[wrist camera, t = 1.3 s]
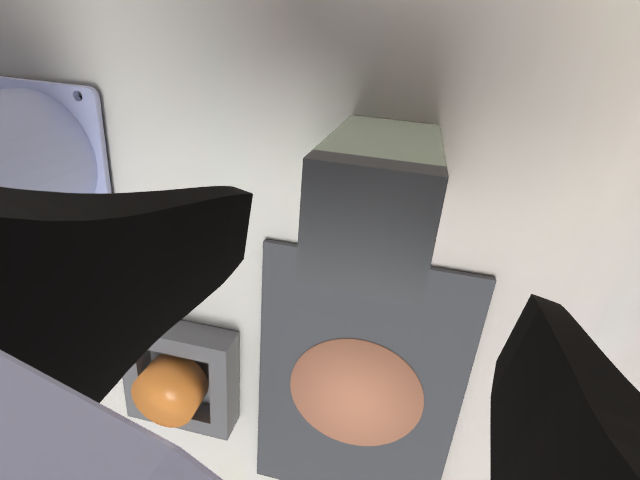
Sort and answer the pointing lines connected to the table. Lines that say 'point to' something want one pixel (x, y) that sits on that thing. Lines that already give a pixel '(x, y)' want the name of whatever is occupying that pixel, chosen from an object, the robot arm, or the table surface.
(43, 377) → the robot arm
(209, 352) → the button housing
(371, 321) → the drawing mat
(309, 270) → the grey and green block
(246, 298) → the table surface
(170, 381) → the button
